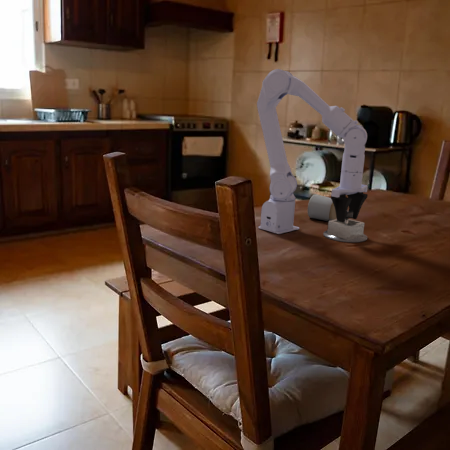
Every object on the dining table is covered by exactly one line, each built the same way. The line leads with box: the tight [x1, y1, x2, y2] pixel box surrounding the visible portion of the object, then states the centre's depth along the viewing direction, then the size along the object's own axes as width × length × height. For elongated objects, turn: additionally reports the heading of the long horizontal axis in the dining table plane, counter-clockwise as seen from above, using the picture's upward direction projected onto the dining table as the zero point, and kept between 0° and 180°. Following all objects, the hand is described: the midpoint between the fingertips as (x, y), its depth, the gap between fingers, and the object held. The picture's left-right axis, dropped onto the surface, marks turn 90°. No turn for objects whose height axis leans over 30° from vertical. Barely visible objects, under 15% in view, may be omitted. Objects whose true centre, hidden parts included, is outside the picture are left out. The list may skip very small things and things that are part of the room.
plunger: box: [345, 209, 353, 225], centre depth 141 cm, size 5×5×6 cm
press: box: [323, 218, 368, 244], centre depth 142 cm, size 12×12×4 cm
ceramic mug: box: [307, 193, 337, 222], centre depth 161 cm, size 11×8×8 cm
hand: (346, 219), depth 141 cm, fingers open, 5 cm apart
